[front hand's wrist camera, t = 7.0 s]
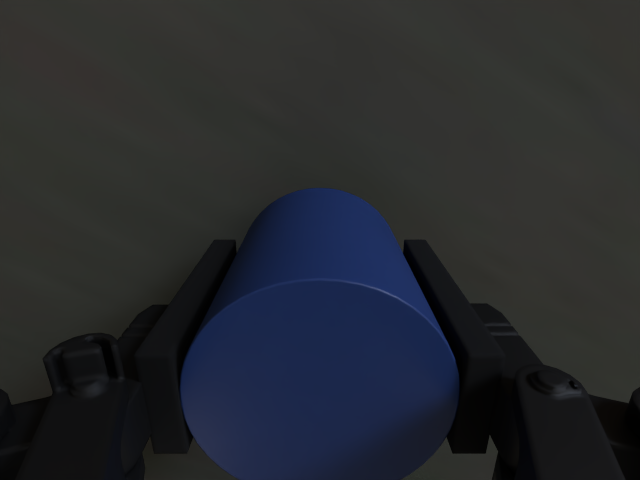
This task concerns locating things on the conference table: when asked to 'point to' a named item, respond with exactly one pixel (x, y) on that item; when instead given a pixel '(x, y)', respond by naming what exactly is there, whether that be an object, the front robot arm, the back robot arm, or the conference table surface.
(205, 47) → the conference table surface
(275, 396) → the can
